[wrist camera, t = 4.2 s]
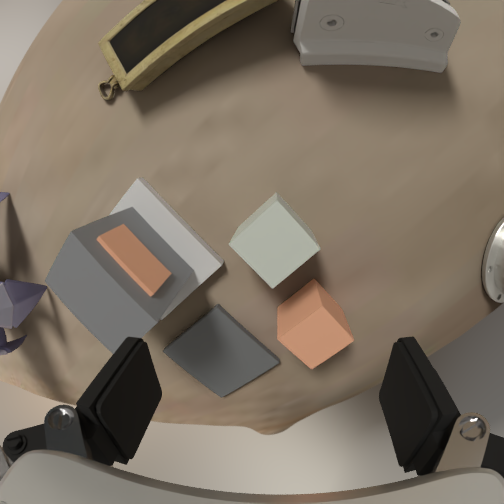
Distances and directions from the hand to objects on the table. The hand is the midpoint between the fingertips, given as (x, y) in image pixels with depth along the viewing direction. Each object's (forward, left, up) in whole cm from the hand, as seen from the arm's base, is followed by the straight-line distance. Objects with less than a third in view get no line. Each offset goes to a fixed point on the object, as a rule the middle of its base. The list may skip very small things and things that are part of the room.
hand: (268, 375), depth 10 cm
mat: (-6, +14, -19) cm, 25 cm away
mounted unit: (+8, +10, -19) cm, 23 cm away
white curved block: (+9, -22, -19) cm, 31 cm away
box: (+22, -9, -19) cm, 31 cm away
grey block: (+1, -1, -19) cm, 19 cm away
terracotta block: (-8, +2, -19) cm, 21 cm away
